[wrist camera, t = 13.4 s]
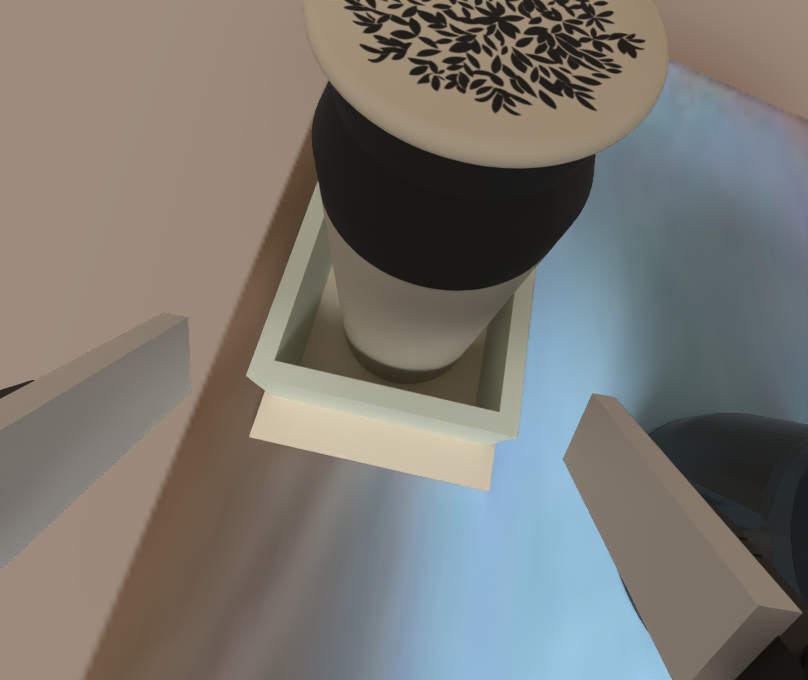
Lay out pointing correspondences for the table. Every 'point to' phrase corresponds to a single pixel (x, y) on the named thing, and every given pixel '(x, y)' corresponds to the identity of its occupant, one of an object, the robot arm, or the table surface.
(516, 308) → the holder
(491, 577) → the table surface
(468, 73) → the travel mug
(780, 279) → the table surface
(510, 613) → the table surface
